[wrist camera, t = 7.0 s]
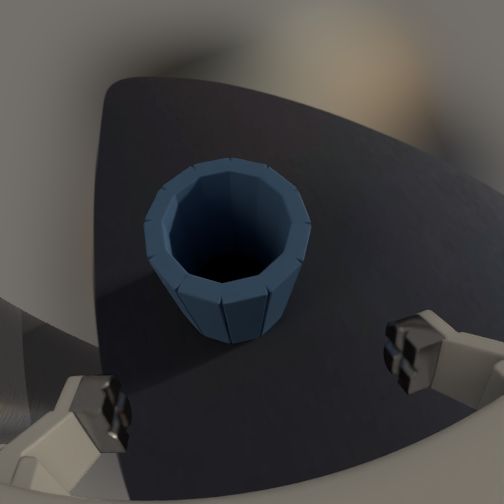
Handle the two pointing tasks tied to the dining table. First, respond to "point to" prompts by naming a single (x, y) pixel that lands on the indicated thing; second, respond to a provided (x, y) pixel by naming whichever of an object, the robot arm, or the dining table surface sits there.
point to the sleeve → (228, 244)
